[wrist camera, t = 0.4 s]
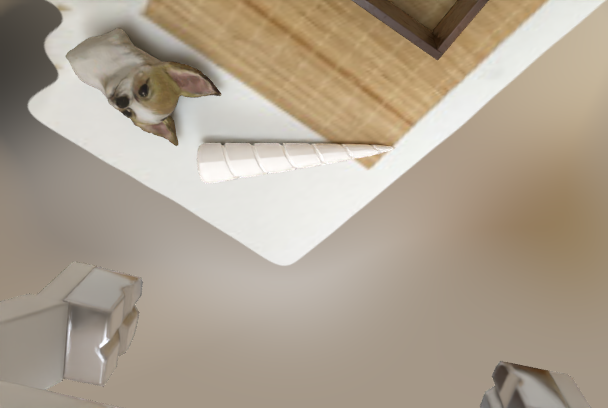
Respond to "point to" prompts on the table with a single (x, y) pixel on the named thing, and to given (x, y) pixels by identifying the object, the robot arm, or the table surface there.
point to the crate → (418, 34)
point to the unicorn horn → (272, 158)
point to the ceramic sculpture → (138, 81)
